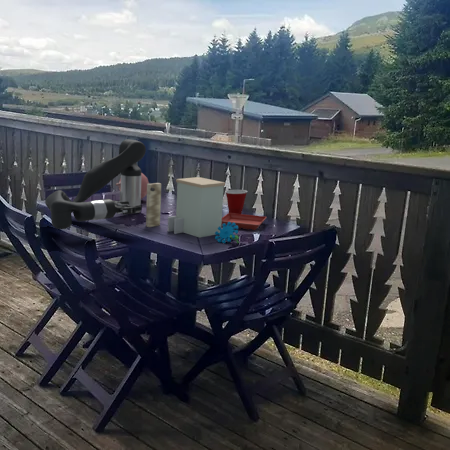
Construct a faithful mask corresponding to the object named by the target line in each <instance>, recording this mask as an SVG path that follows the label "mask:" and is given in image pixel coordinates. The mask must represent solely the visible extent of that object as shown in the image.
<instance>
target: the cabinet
mask: <svg viewBox="0 0 450 450" xmlns="http://www.w3.org/2000/svg"><path fill="white" fill-rule="evenodd" d="M175 182H176V184H177V185H176V186H177V187H176V192H177V193H176V210H175V214H176V215H175V216H173V215H172V216H168V217H167V232H169V233H170V232H173V234H175V235H176V234H182V233H185V234H187V235H191V236H194V237H197V238H205V237H210V236H217V235H216V234H215V232H216V231H218V233H220V230H218V227H221V228H222V225H221V222H222V218H223V204H224V203H223V201H224V187H225V186H226V182H224V181H219V180H216V179H215V180H214V179H209V178H206V177H205V178H204V177H201V176H197V177H195V176H194V177H187V178H186V177H184V178H183V177H182V178H176V179H175Z"/></svg>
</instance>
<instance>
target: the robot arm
mask: <svg viewBox="0 0 450 450" xmlns="http://www.w3.org/2000/svg"><path fill="white" fill-rule="evenodd" d="M146 148H147V146H146V145H145V144H144V143H143V142H142V141H140V140H139V141H138V140H135V139H129V138H127V139H124V140H123V141H122V142H120V144H119V149H118V155H116V156H114V157H112V158H110V159H106V160H104V161H101V162H100V163H98V164H96V165H94V166H93V167H92V168H91V169H89V170H87V172H86V173H85V174H84V175H83V179H82V182H81V185H80V188H79V190H78V193H77V195H76V196H75V197H74V199H73V200H71V198H70V197H69V196H68V195H67V193H65V191H63V190H60V189H58V190H56V191H53V192H52V193H51V194H49V195H48V196H47V197H46V198H45V201H44V204H45V206H46V207H47V209H48V210H49V211H50V218H51V220H50V221H51V226H52V227H53V228H54V229H57V230H65V229H68V228H70V226H72V224H73V221H72V218H73V217H74V219H75V220H76V221H77V222H87V221H101V220H108V219H112V218H114V217H115V216H116V214H118V215H119V214H122V215H130V214H138V213H141V211H142V210H143V206H142V199H141V173H142V168H140V167H139V166H138V162H140V161H141V160H142V159H143V158H144V157H145V155H146V152H147V149H146ZM118 176H120V179H121V191H120V190H119V201H118V200H112V199H110V198H105V199H96V200H91V201H87V200H88V199H89V198H90V197H92V196H93V195H95V194H96V193H97V192H98V191H100V190H101V189H103V188H104V187H105V186H107V185H108V184H109V183H110V182H112V181H113V180H114V179H115V178H117V177H118ZM72 215H73V217H72Z"/></svg>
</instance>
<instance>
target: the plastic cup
mask: <svg viewBox="0 0 450 450" xmlns="http://www.w3.org/2000/svg"><path fill="white" fill-rule="evenodd" d="M224 193H225V195H226V201H227V209H228V213H236V214H243V210H244V205H245V201H246V196H247V193H248V190H246V189H228V190H225V191H224Z"/></svg>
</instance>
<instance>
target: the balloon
mask: <svg viewBox="0 0 450 450" xmlns="http://www.w3.org/2000/svg"><path fill="white" fill-rule="evenodd" d="M147 184H150V182H149V179H148V177H147V176H146V175H145V174H144V173H143V172H141V200H143V198H145V197H147ZM115 186H117V187H118V190H119V192H120V191H121V178H120V179H119V181H118V182H117V183H115Z"/></svg>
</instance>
